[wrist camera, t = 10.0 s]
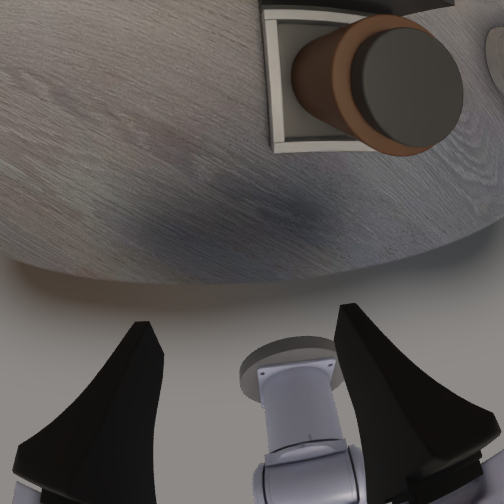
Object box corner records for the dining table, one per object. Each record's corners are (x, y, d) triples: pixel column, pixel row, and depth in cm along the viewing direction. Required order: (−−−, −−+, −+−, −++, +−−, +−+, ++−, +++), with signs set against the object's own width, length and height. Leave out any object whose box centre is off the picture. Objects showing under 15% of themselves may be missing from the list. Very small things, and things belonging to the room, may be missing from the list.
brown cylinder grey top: (378, 125, 15) (468, 169, 8) (292, 124, 15) (342, 165, 8) (377, 42, 12) (473, 33, 5) (287, 34, 12) (336, -5, 5)
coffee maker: (390, 144, 16) (452, 180, 11) (269, 145, 16) (288, 183, 11) (383, -20, 10) (444, -46, 4) (254, -33, 10) (266, -86, 4)
